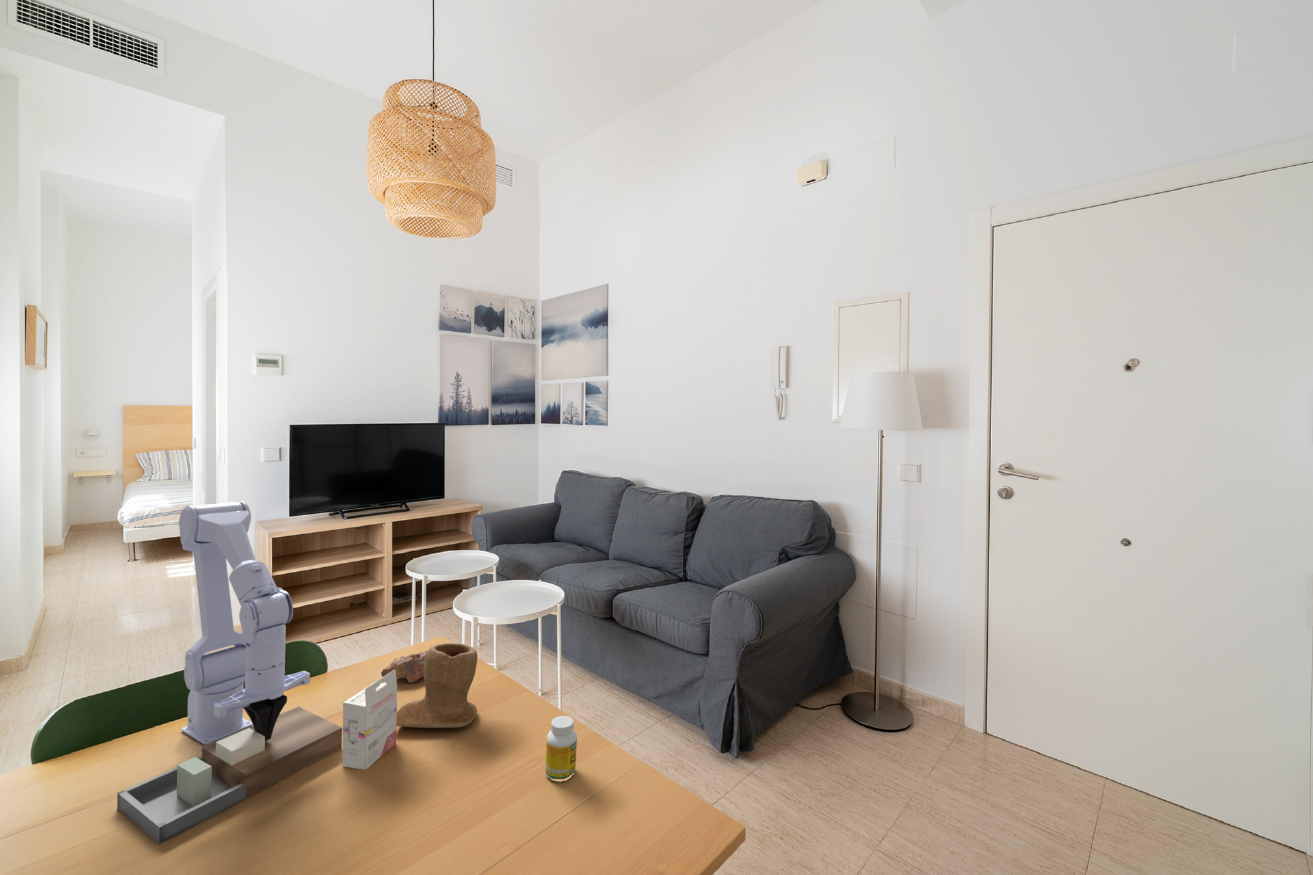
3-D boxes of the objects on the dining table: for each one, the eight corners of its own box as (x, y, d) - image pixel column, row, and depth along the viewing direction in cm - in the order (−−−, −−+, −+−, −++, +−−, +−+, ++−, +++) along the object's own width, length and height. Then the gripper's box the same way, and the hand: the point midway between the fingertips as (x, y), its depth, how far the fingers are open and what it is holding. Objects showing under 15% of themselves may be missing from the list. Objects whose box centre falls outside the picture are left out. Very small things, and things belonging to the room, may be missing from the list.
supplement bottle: (547, 763, 101) (549, 712, 101) (577, 764, 102) (579, 713, 101) (542, 783, 96) (544, 729, 96) (573, 783, 96) (575, 730, 96)
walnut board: (201, 769, 95) (202, 747, 95) (297, 726, 110) (298, 706, 109) (245, 798, 89) (245, 774, 89) (341, 748, 103) (342, 727, 103)
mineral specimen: (410, 685, 124) (398, 658, 125) (386, 697, 126) (374, 670, 127) (445, 663, 136) (433, 638, 137) (423, 674, 138) (411, 649, 139)
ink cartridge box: (374, 739, 106) (376, 664, 106) (396, 743, 105) (399, 668, 105) (340, 766, 98) (342, 685, 97) (364, 771, 97) (366, 689, 96)
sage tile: (194, 786, 91) (176, 795, 89) (195, 756, 91) (177, 764, 88) (211, 796, 89) (193, 805, 86) (211, 766, 88) (193, 774, 86)
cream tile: (215, 755, 93) (216, 741, 93) (248, 740, 98) (249, 727, 98) (231, 765, 91) (231, 751, 91) (264, 750, 95) (264, 736, 95)
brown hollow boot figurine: (484, 704, 121) (486, 637, 120) (467, 736, 109) (470, 661, 108) (413, 703, 120) (416, 635, 120) (389, 734, 108) (391, 659, 108)
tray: (117, 808, 86) (117, 792, 86) (201, 769, 95) (202, 755, 95) (159, 844, 79) (159, 827, 79) (245, 798, 89) (245, 783, 89)
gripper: (230, 685, 89) (228, 768, 89) (320, 653, 102) (318, 725, 102) (207, 674, 92) (206, 754, 92) (298, 644, 105) (296, 714, 105)
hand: (263, 738), depth 97 cm, fingers closed
